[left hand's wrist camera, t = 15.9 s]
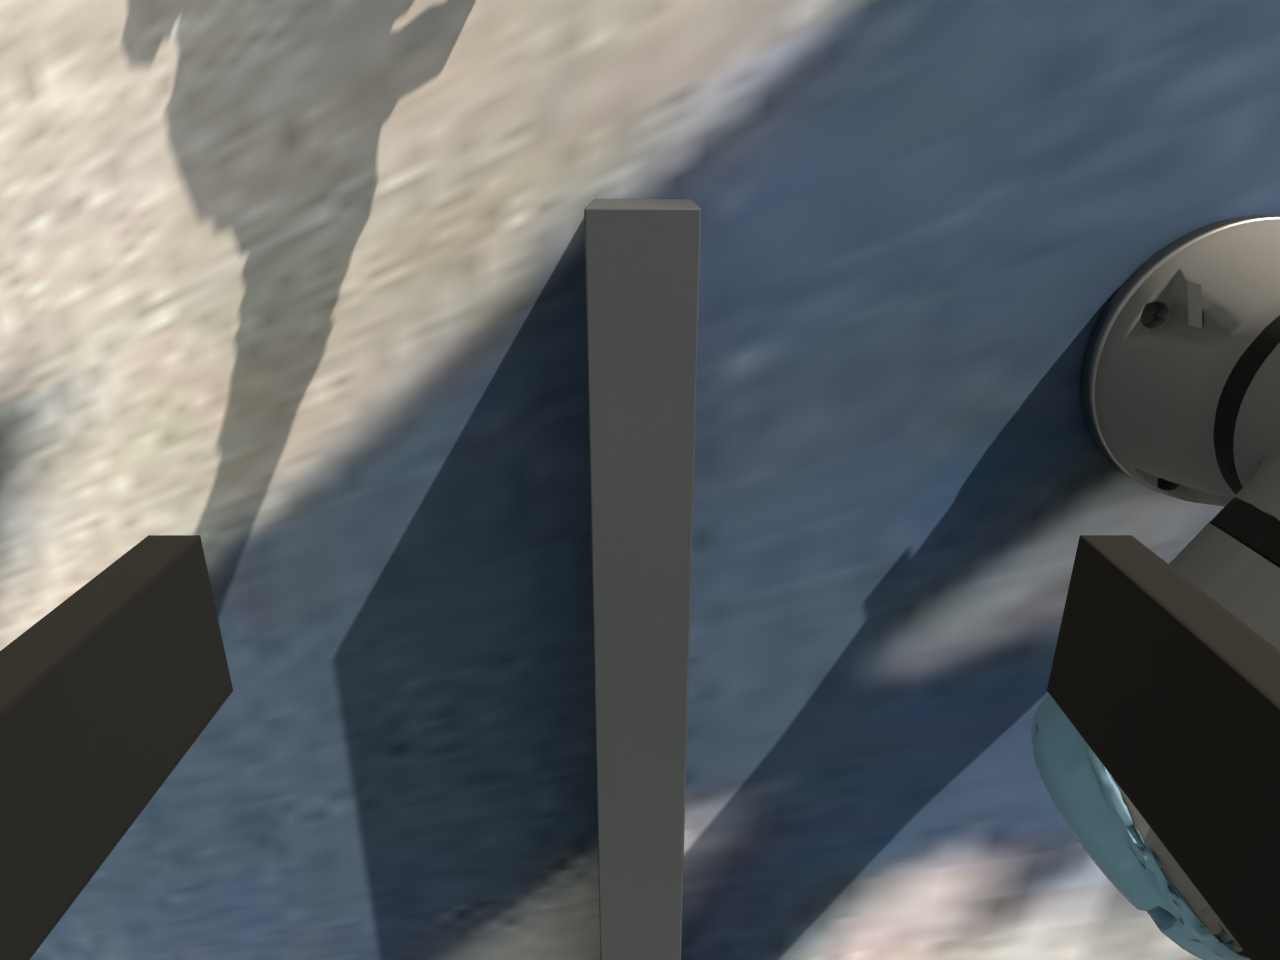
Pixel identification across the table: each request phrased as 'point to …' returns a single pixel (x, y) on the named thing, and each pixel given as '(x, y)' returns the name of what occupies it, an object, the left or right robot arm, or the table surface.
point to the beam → (641, 556)
